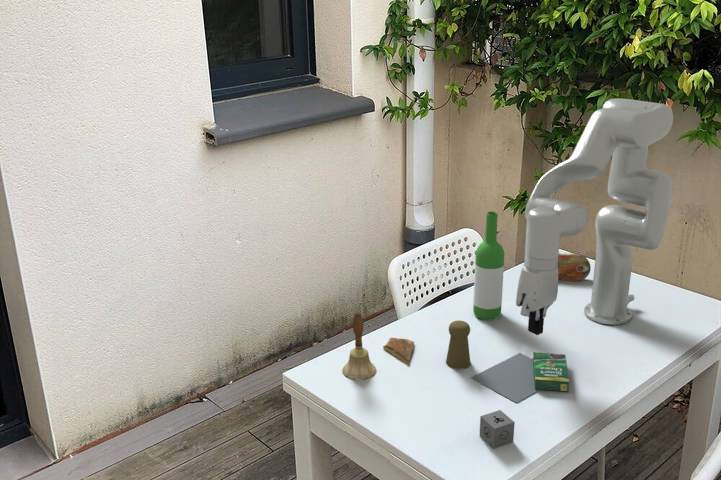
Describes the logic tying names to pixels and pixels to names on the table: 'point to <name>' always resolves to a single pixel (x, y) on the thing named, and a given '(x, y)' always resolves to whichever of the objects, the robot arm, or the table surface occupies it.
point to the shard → (400, 348)
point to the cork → (458, 345)
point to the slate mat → (510, 378)
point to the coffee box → (550, 371)
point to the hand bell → (358, 355)
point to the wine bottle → (489, 273)
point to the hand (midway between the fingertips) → (535, 332)
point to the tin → (572, 267)
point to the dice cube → (496, 429)
